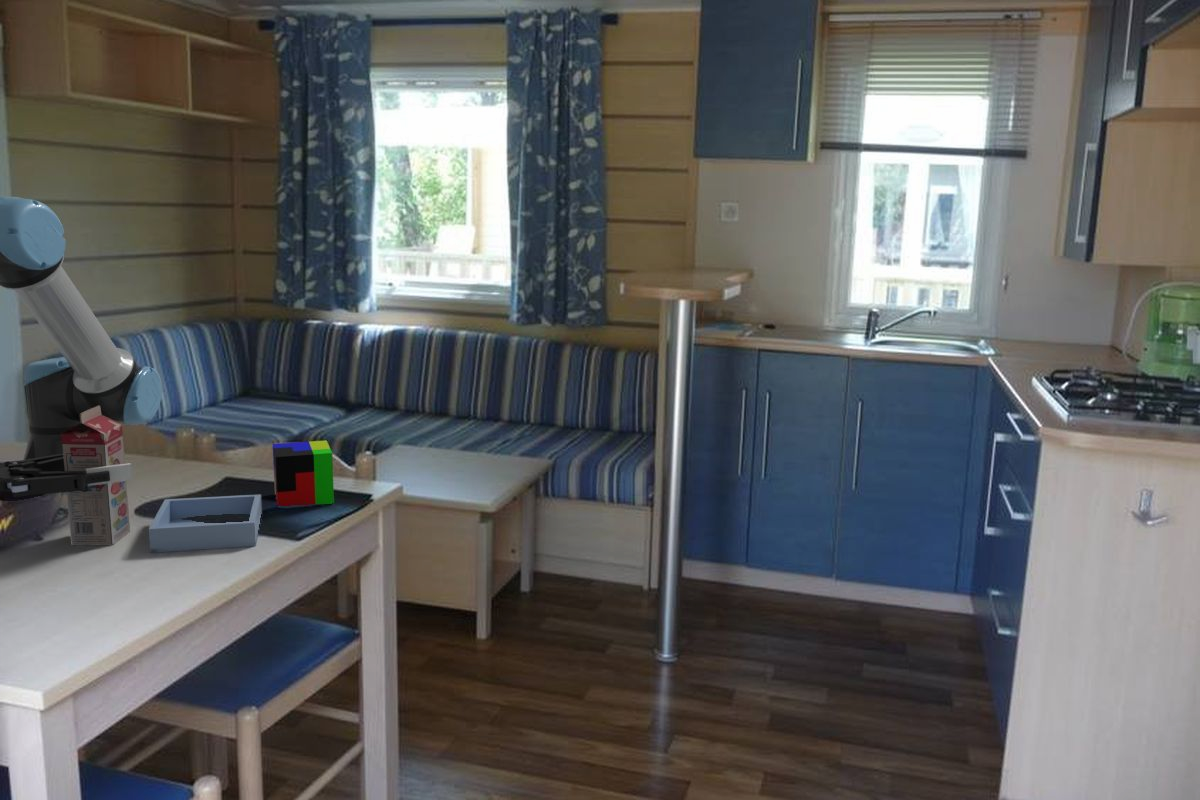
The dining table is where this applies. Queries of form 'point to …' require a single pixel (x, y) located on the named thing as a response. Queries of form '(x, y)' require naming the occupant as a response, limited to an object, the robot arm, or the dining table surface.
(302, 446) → the puzzle toy
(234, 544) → the bin
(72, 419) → the robot arm
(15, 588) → the dining table surface
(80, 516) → the juice carton
